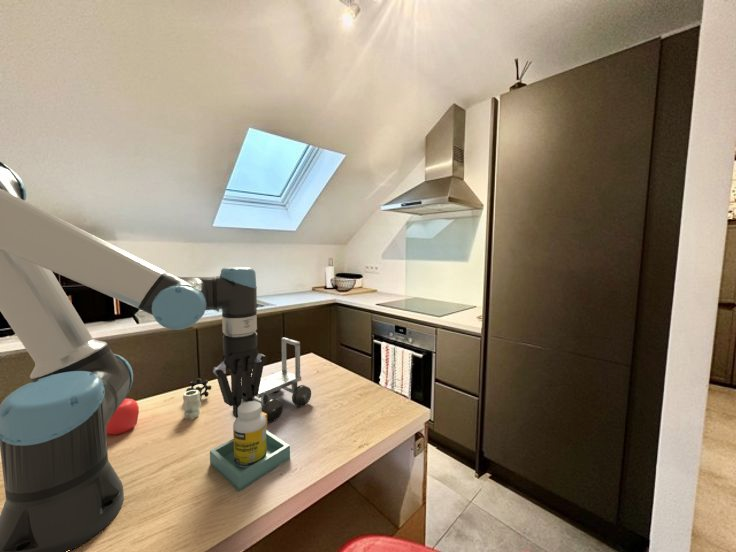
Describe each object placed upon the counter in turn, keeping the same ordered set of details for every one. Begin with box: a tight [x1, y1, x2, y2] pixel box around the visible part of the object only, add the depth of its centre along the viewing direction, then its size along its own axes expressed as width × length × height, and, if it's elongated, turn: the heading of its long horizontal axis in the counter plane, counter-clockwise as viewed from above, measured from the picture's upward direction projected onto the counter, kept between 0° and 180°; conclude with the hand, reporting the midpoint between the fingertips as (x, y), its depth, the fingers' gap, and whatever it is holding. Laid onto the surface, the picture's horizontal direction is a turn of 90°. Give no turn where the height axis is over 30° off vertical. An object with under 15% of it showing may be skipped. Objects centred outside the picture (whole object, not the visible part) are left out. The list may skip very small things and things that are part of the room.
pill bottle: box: [232, 401, 267, 468], centre depth 64 cm, size 6×6×12 cm
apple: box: [106, 397, 140, 436], centre depth 75 cm, size 8×8×8 cm
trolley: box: [241, 336, 312, 423], centre depth 87 cm, size 16×15×18 cm
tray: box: [209, 429, 291, 492], centre depth 65 cm, size 12×12×3 cm
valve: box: [182, 377, 212, 420], centre depth 85 cm, size 7×7×12 cm
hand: (242, 427), depth 74 cm, fingers closed
